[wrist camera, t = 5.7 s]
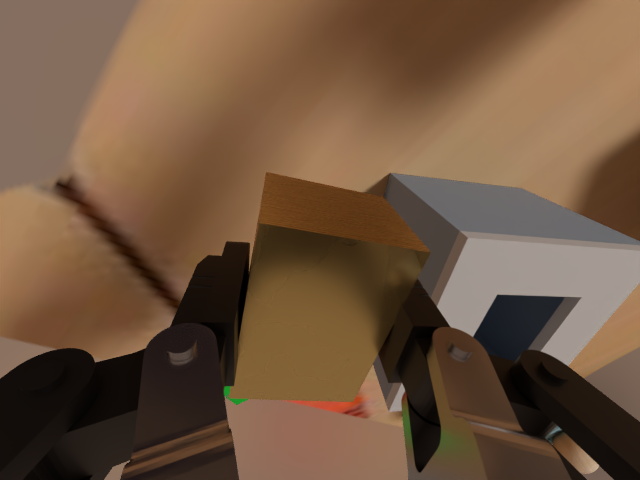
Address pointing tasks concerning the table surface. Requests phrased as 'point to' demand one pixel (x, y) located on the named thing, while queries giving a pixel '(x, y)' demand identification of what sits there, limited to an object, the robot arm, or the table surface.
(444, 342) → the robot arm
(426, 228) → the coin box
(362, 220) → the golden tan block
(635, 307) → the table surface
